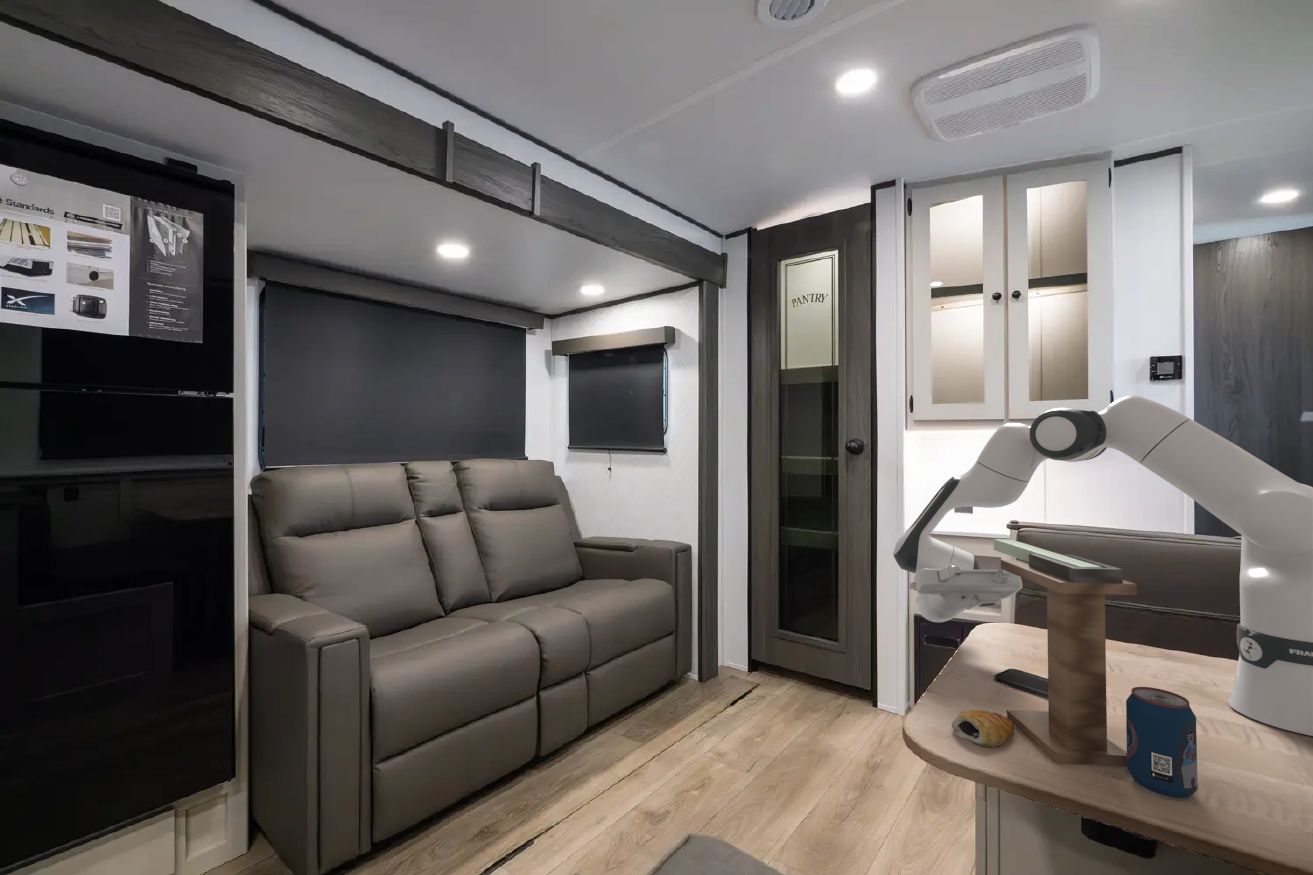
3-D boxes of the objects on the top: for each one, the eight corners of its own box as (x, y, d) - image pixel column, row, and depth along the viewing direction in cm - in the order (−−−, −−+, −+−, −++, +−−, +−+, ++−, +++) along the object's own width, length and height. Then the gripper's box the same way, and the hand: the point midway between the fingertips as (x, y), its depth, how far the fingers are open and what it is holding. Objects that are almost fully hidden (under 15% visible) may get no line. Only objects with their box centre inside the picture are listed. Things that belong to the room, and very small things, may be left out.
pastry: (986, 720, 93) (986, 697, 93) (1028, 739, 86) (1028, 714, 87) (947, 732, 89) (947, 708, 89) (988, 753, 82) (988, 727, 83)
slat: (1010, 550, 103) (1010, 539, 103) (1102, 581, 79) (1102, 567, 79) (993, 549, 103) (993, 539, 103) (1080, 580, 80) (1079, 566, 80)
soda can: (1127, 765, 79) (1126, 680, 79) (1195, 785, 74) (1194, 694, 75) (1126, 788, 74) (1124, 696, 74) (1199, 810, 69) (1197, 713, 69)
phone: (1011, 667, 112) (1101, 695, 100) (1011, 673, 112) (1102, 701, 100) (991, 676, 108) (1083, 706, 95) (991, 682, 108) (1083, 713, 95)
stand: (1065, 717, 93) (1063, 548, 94) (1139, 772, 77) (1136, 569, 78) (1002, 714, 94) (1000, 547, 94) (1062, 769, 78) (1060, 568, 78)
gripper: (903, 574, 126) (923, 554, 114) (998, 576, 124) (1029, 555, 112) (908, 602, 122) (930, 584, 111) (1006, 605, 121) (1039, 586, 109)
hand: (981, 570), depth 111 cm, fingers open, 8 cm apart
